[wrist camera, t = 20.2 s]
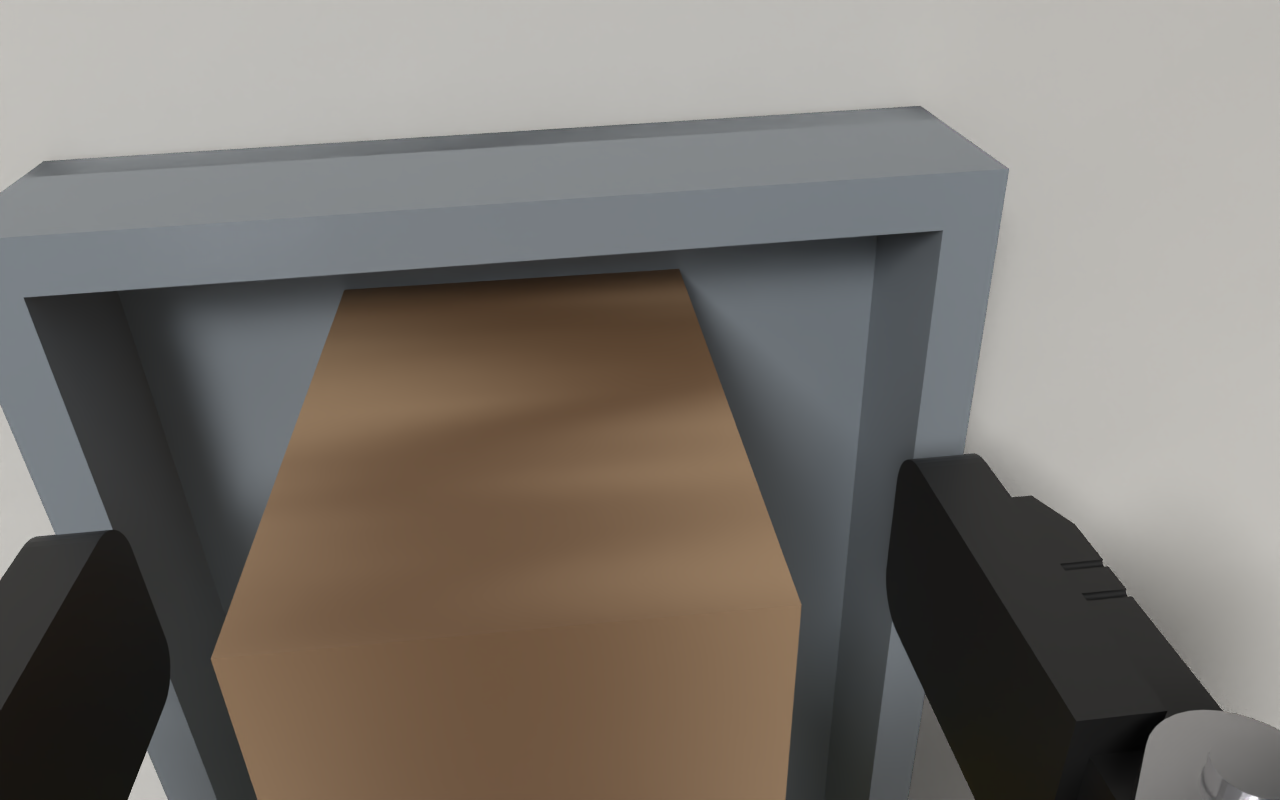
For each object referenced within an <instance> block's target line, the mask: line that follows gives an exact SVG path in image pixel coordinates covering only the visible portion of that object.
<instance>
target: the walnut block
mask: <svg viewBox="0 0 1280 800" xmlns="http://www.w3.org/2000/svg"><path fill="white" fill-rule="evenodd" d="M800 617H801V602H800V599H799V596H798V594H797V591H796V588H795V586H794V583H793V580H792V577H791V575H790V572H789V569H788V566H787V564H786V561H785V558H784V555H783V553H782V550H781V547H780V544H779V542H778V539H777V536H776V533H775V531H774V528H773V525H772V522H771V520H770V517H769V514H768V511H767V509H766V506H765V503H764V500H763V498H762V495H761V492H760V490H759V487H758V484H757V481H756V479H755V476H754V473H753V470H752V468H751V465H750V462H749V459H748V457H747V454H746V451H745V448H744V446H743V443H742V440H741V437H740V435H739V432H738V429H737V426H736V424H735V421H734V418H733V415H732V413H731V410H730V407H729V404H728V402H727V399H726V396H725V393H724V391H723V388H722V385H721V383H720V380H719V377H718V374H717V372H716V369H715V366H714V363H713V361H712V358H711V355H710V352H709V350H708V347H707V344H706V341H705V339H704V336H703V333H702V330H701V328H700V325H699V322H698V319H697V317H696V314H695V311H694V308H693V306H692V303H691V300H690V297H689V295H688V292H687V289H686V287H685V284H684V281H683V278H682V276H681V273H680V270H679V269H668V270H652V271H636V272H620V273H604V274H588V275H572V276H556V277H540V278H524V279H508V280H492V281H476V282H460V283H444V284H428V285H412V286H396V287H380V288H364V289H348V290H344V292H343V295H342V298H341V301H340V303H339V306H338V309H337V312H336V314H335V317H334V320H333V323H332V325H331V328H330V331H329V334H328V336H327V339H326V342H325V345H324V347H323V350H322V353H321V356H320V359H319V361H318V364H317V367H316V370H315V372H314V375H313V378H312V381H311V383H310V386H309V389H308V392H307V394H306V397H305V400H304V403H303V405H302V408H301V411H300V414H299V417H298V419H297V422H296V425H295V428H294V430H293V433H292V436H291V439H290V441H289V444H288V447H287V450H286V452H285V455H284V458H283V461H282V463H281V466H280V469H279V472H278V474H277V477H276V480H275V483H274V486H273V488H272V491H271V494H270V497H269V499H268V502H267V505H266V508H265V510H264V513H263V516H262V519H261V521H260V524H259V527H258V530H257V532H256V535H255V538H254V541H253V544H252V546H251V549H250V552H249V555H248V557H247V560H246V563H245V566H244V568H243V571H242V574H241V577H240V579H239V582H238V585H237V588H236V590H235V593H234V596H233V599H232V601H231V604H230V607H229V610H228V613H227V615H226V618H225V621H224V624H223V626H222V629H221V632H220V635H219V637H218V640H217V643H216V646H215V648H214V651H213V654H212V657H211V661H212V664H213V667H214V670H215V673H216V676H217V679H218V682H219V685H220V688H221V692H222V695H223V698H224V701H225V704H226V707H227V710H228V713H229V716H230V719H231V722H232V725H233V728H234V731H235V734H236V737H237V740H238V743H239V746H240V749H241V752H242V755H243V758H244V761H245V764H246V767H247V770H248V773H249V776H250V779H251V782H252V785H253V788H254V791H255V794H256V797H257V800H785V798H786V786H787V774H788V762H789V749H790V737H791V725H792V713H793V701H794V689H795V677H796V665H797V653H798V641H799V629H800Z"/></svg>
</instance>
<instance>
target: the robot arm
mask: <svg viewBox="0 0 1280 800" xmlns="http://www.w3.org/2000/svg"><path fill="white" fill-rule="evenodd" d="M1102 560H1103V559H1102V558H1101V557H1100V556H1099V554H1098V553H1097V552H1096V551H1095V549H1094V548H1093V547H1092V546H1091V544H1090V543H1089V542H1088V540H1087V539H1086V538H1085V537H1084V535H1083V534H1082V533H1081V532H1080V530H1079V529H1078V528H1077V527H1076V525H1075V524H1074V523H1072V522H1071V521H1069V520H1068V519H1066V518H1065V517H1063V516H1061V515H1060V514H1058V513H1057V512H1055V511H1054V510H1052V509H1051V508H1049V507H1048V506H1046V505H1045V504H1043V503H1042V502H1040V501H1039V500H1037V499H1036V498H1034V497H1033V496H1023V497H1012V498H1011V496H1010V495H1009V493H1008V492H1007V491H1006V489H1005V488H1004V487H1003V485H1002V484H1001V483H1000V481H999V480H998V478H997V477H996V476H995V474H994V473H993V472H992V470H991V469H990V468H989V466H988V465H987V463H986V462H985V461H984V460H983V459H982V457H980V456H979V455H977V454H963V455H952V456H941V457H930V458H919V459H908V460H905V461H904V462H903V463H902V464H901V467H900V469H899V472H898V477H897V485H896V493H895V501H894V509H893V517H892V526H891V534H890V542H889V550H888V559H887V567H886V591H887V599H888V605H889V610H890V614H891V618H892V621H893V624H894V627H895V629H896V632H897V634H898V636H899V638H900V640H901V643H902V645H903V647H904V649H905V651H906V653H907V655H908V657H909V660H910V662H911V664H912V666H913V668H914V670H915V672H916V675H917V677H918V679H919V681H920V683H921V685H922V687H923V689H924V692H925V694H926V696H927V698H928V700H929V702H930V704H931V706H932V709H933V711H934V713H935V715H936V717H937V719H938V721H939V724H940V726H941V728H942V730H943V732H944V734H945V736H946V738H947V741H948V743H949V745H950V747H951V749H952V751H953V753H954V755H955V758H956V760H957V762H958V764H959V766H960V768H961V770H962V773H963V775H964V777H965V779H966V781H967V783H968V785H969V787H970V790H971V792H972V794H973V796H974V798H975V800H1280V730H1278V729H1276V728H1274V727H1272V726H1270V725H1268V724H1266V723H1263V722H1260V721H1258V720H1255V719H1253V718H1249V717H1246V716H1242V715H1239V714H1235V713H1230V712H1224V711H1223V710H1222V709H1221V708H1220V707H1219V706H1218V704H1217V703H1216V702H1215V701H1214V699H1213V698H1212V697H1211V696H1210V694H1209V693H1208V692H1207V690H1206V689H1205V688H1204V687H1203V685H1202V684H1201V683H1200V682H1199V680H1198V679H1197V678H1196V677H1195V675H1194V674H1193V673H1192V672H1191V670H1190V669H1189V668H1188V667H1187V665H1186V664H1185V663H1184V662H1183V660H1182V659H1181V658H1180V656H1179V655H1178V654H1177V653H1176V651H1175V650H1174V649H1173V648H1172V646H1171V645H1170V644H1169V643H1168V641H1167V640H1166V639H1165V638H1164V636H1163V635H1162V634H1161V633H1160V631H1159V630H1158V629H1157V627H1156V626H1155V625H1154V624H1153V622H1152V621H1151V620H1150V619H1149V617H1148V616H1147V615H1146V614H1145V612H1144V611H1143V610H1142V609H1141V607H1140V606H1139V605H1138V604H1137V602H1136V601H1135V600H1134V598H1133V597H1127V595H1126V588H1125V587H1124V586H1123V585H1122V583H1121V582H1120V581H1119V580H1118V578H1117V577H1116V576H1115V575H1114V573H1113V572H1112V571H1111V569H1110V568H1109V567H1104V566H1103V563H1102ZM170 668H171V667H170V655H169V648H168V644H167V641H166V637H165V635H164V632H163V629H162V627H161V624H160V622H159V619H158V616H157V614H156V611H155V608H154V606H153V603H152V600H151V598H150V595H149V592H148V590H147V587H146V584H145V582H144V579H143V577H142V574H141V571H140V569H139V566H138V563H137V561H136V558H135V555H134V553H133V550H132V548H131V545H130V543H129V541H128V540H127V538H126V537H125V536H124V535H123V534H122V533H121V532H120V531H118V530H104V531H93V532H82V533H71V534H60V535H49V536H38V537H34V538H32V539H30V540H29V541H28V542H27V543H26V544H25V545H24V546H23V548H22V549H21V551H20V552H19V553H18V555H17V556H16V558H15V559H14V561H13V562H12V564H11V565H10V567H9V568H8V570H7V571H6V573H5V574H4V576H3V577H2V579H1V580H0V800H128V797H129V795H130V792H131V789H132V787H133V784H134V782H135V779H136V777H137V774H138V772H139V769H140V767H141V764H142V762H143V759H144V757H145V754H146V752H147V749H148V746H149V744H150V741H151V739H152V736H153V734H154V731H155V729H156V726H157V724H158V721H159V719H160V716H161V714H162V711H163V708H164V706H165V703H166V700H167V696H168V691H169V685H170Z"/></svg>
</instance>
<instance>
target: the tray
mask: <svg viewBox="0 0 1280 800" xmlns="http://www.w3.org/2000/svg"><path fill="white" fill-rule="evenodd" d="M1008 172H1009V168H1007V167H1006V166H1004V165H1003V164H1002V163H1000V162H999V161H997V160H996V159H995V158H993V157H992V156H990V155H989V154H987V153H986V152H985V151H983V150H982V149H980V148H979V147H978V146H976V145H975V144H973V143H972V142H971V141H969V140H968V139H966V138H965V137H963V136H962V135H961V134H959V133H958V132H956V131H955V130H954V129H952V128H951V127H949V126H948V125H947V124H945V123H944V122H942V121H941V120H939V119H938V118H937V117H935V116H934V115H932V114H931V113H930V112H928V111H927V110H925V109H924V108H923V107H921V106H913V107H898V108H882V109H866V110H850V111H834V112H818V113H802V114H786V115H771V116H755V117H739V118H723V119H707V120H691V121H675V122H660V123H644V124H628V125H612V126H596V127H580V128H564V129H549V130H533V131H517V132H501V133H485V134H469V135H453V136H437V137H422V138H406V139H390V140H374V141H358V142H342V143H326V144H311V145H295V146H279V147H263V148H247V149H231V150H215V151H199V152H184V153H168V154H152V155H136V156H120V157H104V158H88V159H73V160H57V161H43V162H42V163H41V164H39V165H38V166H37V167H35V168H34V169H32V170H31V171H30V172H28V173H27V174H26V175H24V176H23V177H21V178H20V179H19V180H17V181H16V182H15V183H13V184H12V185H10V186H9V187H8V188H6V189H5V190H4V191H2V192H1V193H0V405H1V407H2V409H3V412H4V414H5V416H6V419H7V421H8V423H9V426H10V428H11V430H12V433H13V435H14V438H15V440H16V442H17V445H18V447H19V449H20V452H21V454H22V456H23V459H24V461H25V463H26V466H27V468H28V471H29V473H30V475H31V478H32V480H33V482H34V485H35V487H36V489H37V492H38V494H39V496H40V499H41V501H42V504H43V506H44V508H45V511H46V513H47V515H48V518H49V520H50V522H51V525H52V527H53V529H54V532H55V534H56V535H60V534H71V533H82V532H93V531H104V530H118V531H120V532H121V533H122V534H123V535H124V536H125V537H126V538H127V540H128V541H129V543H130V545H131V548H132V550H133V553H134V555H135V558H136V561H137V563H138V566H139V569H140V571H141V574H142V577H143V579H144V582H145V584H146V587H147V590H148V592H149V595H150V598H151V600H152V603H153V606H154V608H155V611H156V614H157V616H158V619H159V622H160V624H161V627H162V629H163V632H164V635H165V637H166V641H167V644H168V648H169V655H170V667H171V668H170V685H169V691H168V696H167V700H166V703H165V706H164V708H163V711H162V714H161V716H160V719H159V721H158V724H157V726H156V729H155V731H154V734H153V736H152V739H151V741H150V744H149V746H148V749H147V751H148V753H149V756H150V758H151V760H152V763H153V765H154V768H155V770H156V772H157V775H158V777H159V779H160V782H161V784H162V786H163V789H164V791H165V793H166V796H167V798H168V800H257V797H256V794H255V791H254V788H253V785H252V782H251V779H250V776H249V773H248V770H247V767H246V764H245V761H244V758H243V755H242V752H241V749H240V746H239V743H238V740H237V737H236V734H235V731H234V728H233V725H232V722H231V719H230V716H229V713H228V710H227V707H226V704H225V701H224V698H223V695H222V692H221V688H220V685H219V682H218V679H217V676H216V673H215V670H214V667H213V664H212V661H211V657H212V654H213V651H214V648H215V646H216V643H217V640H218V637H219V635H220V632H221V629H222V626H223V624H224V621H225V618H226V615H227V613H228V610H229V607H230V604H231V601H232V599H233V596H234V593H235V590H236V588H237V585H238V582H239V579H240V577H241V574H242V571H243V568H244V566H245V563H246V560H247V557H248V555H249V552H250V549H251V546H252V544H253V541H254V538H255V535H256V532H257V530H258V527H259V524H260V521H261V519H262V516H263V513H264V510H265V508H266V505H267V502H268V499H269V497H270V494H271V491H272V488H273V486H274V483H275V480H276V477H277V474H278V472H279V469H280V466H281V463H282V461H283V458H284V455H285V452H286V450H287V447H288V444H289V441H290V439H291V436H292V433H293V430H294V428H295V425H296V422H297V419H298V417H299V414H300V411H301V408H302V405H303V403H304V400H305V397H306V394H307V392H308V389H309V386H310V383H311V381H312V378H313V375H314V372H315V370H316V367H317V364H318V361H319V359H320V356H321V353H322V350H323V347H324V345H325V342H326V339H327V336H328V334H329V331H330V328H331V325H332V323H333V320H334V317H335V314H336V312H337V309H338V306H339V303H340V301H341V298H342V295H343V292H344V290H348V289H364V288H380V287H396V286H412V285H428V284H444V283H460V282H476V281H492V280H508V279H524V278H540V277H556V276H572V275H588V274H604V273H620V272H636V271H652V270H668V269H679V270H680V273H681V276H682V278H683V281H684V284H685V287H686V289H687V292H688V295H689V297H690V300H691V303H692V306H693V308H694V311H695V314H696V317H697V319H698V322H699V325H700V328H701V330H702V333H703V336H704V339H705V341H706V344H707V347H708V350H709V352H710V355H711V358H712V361H713V363H714V366H715V369H716V372H717V374H718V377H719V380H720V383H721V385H722V388H723V391H724V393H725V396H726V399H727V402H728V404H729V407H730V410H731V413H732V415H733V418H734V421H735V424H736V426H737V429H738V432H739V435H740V437H741V440H742V443H743V446H744V448H745V451H746V454H747V457H748V459H749V462H750V465H751V468H752V470H753V473H754V476H755V479H756V481H757V484H758V487H759V490H760V492H761V495H762V498H763V500H764V503H765V506H766V509H767V511H768V514H769V517H770V520H771V522H772V525H773V528H774V531H775V533H776V536H777V539H778V542H779V544H780V547H781V550H782V553H783V555H784V558H785V561H786V564H787V566H788V569H789V572H790V575H791V577H792V580H793V583H794V586H795V588H796V591H797V594H798V596H799V599H800V602H801V617H800V629H799V641H798V653H797V665H796V677H795V689H794V701H793V713H792V725H791V737H790V749H789V762H788V774H787V786H786V798H785V800H908V796H909V789H910V783H911V777H912V771H913V764H914V758H915V752H916V746H917V740H918V733H919V727H920V721H921V715H922V708H923V702H924V696H925V692H924V689H923V687H922V685H921V683H920V681H919V679H918V677H917V675H916V672H915V670H914V668H913V666H912V664H911V662H910V660H909V657H908V655H907V653H906V651H905V649H904V647H903V645H902V643H901V640H900V638H899V636H898V634H897V632H896V629H895V627H894V624H893V621H892V618H891V614H890V610H889V605H888V599H887V591H886V567H887V559H888V550H889V542H890V534H891V526H892V517H893V509H894V501H895V493H896V485H897V477H898V472H899V469H900V467H901V464H902V463H903V462H904V461H905V460H908V459H919V458H930V457H941V456H952V455H963V453H964V447H965V440H966V434H967V428H968V422H969V416H970V409H971V403H972V397H973V391H974V384H975V378H976V372H977V366H978V359H979V353H980V347H981V341H982V334H983V328H984V322H985V316H986V310H987V303H988V297H989V291H990V285H991V278H992V272H993V266H994V260H995V253H996V247H997V241H998V235H999V229H1000V222H1001V216H1002V210H1003V204H1004V197H1005V191H1006V185H1007V179H1008Z"/></svg>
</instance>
